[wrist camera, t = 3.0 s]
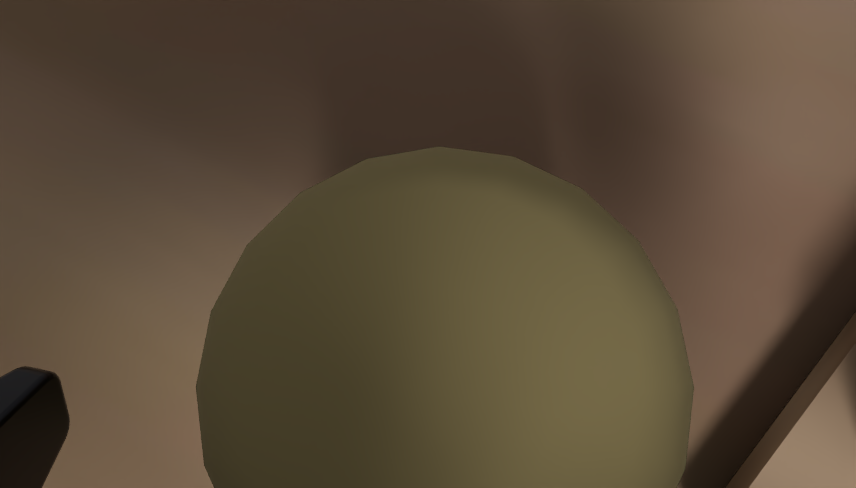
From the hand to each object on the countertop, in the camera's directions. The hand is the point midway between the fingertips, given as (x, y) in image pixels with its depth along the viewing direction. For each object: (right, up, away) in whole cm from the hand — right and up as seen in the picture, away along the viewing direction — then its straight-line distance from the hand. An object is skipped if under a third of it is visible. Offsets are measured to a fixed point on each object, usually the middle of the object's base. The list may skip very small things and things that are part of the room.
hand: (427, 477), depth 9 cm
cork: (+1, 0, +9) cm, 9 cm away
